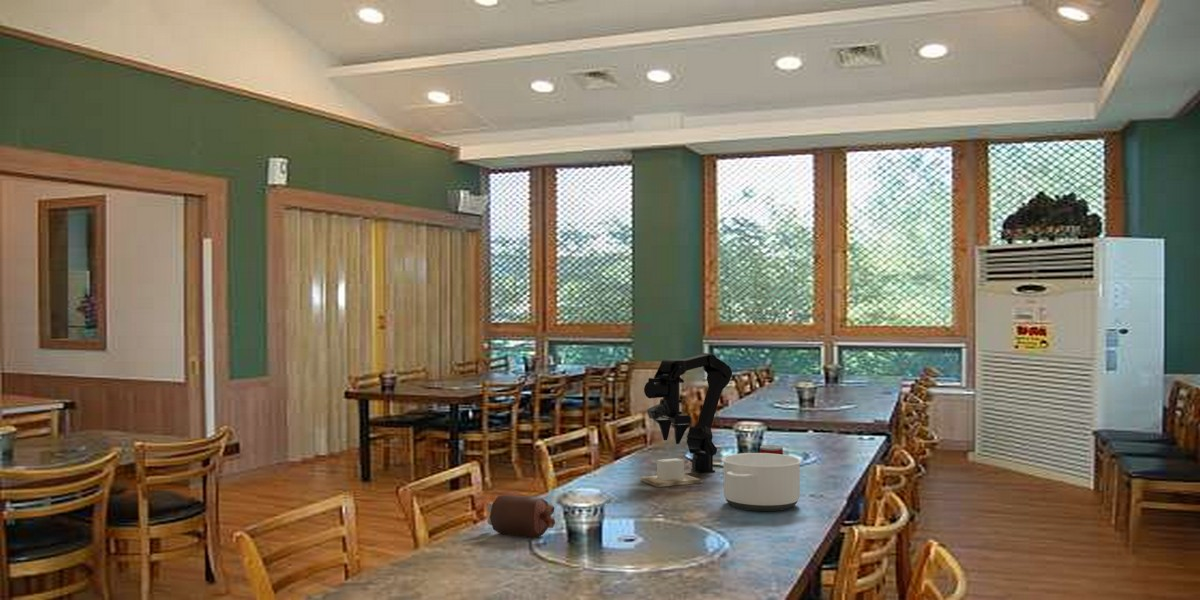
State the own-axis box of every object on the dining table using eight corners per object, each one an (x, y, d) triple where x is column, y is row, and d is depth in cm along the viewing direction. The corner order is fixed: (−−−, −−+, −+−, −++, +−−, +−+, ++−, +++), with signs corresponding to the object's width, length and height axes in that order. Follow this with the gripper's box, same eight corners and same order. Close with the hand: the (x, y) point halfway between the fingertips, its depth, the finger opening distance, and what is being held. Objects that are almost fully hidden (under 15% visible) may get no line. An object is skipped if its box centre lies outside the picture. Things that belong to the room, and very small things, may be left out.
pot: (772, 521, 257) (772, 471, 257) (698, 510, 271) (698, 463, 271) (821, 500, 284) (821, 455, 284) (752, 491, 298) (751, 448, 298)
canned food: (781, 477, 321) (781, 445, 321) (784, 481, 313) (783, 448, 313) (759, 477, 322) (758, 444, 322) (760, 481, 314) (760, 448, 314)
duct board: (683, 476, 323) (683, 461, 323) (700, 483, 311) (700, 467, 311) (641, 480, 316) (641, 465, 316) (656, 486, 305) (656, 470, 305)
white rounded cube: (677, 476, 318) (677, 458, 318) (683, 478, 313) (683, 460, 313) (657, 477, 315) (656, 459, 315) (663, 480, 310) (663, 462, 310)
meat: (475, 536, 243) (475, 497, 243) (500, 527, 253) (500, 489, 253) (542, 544, 234) (541, 503, 234) (565, 534, 244) (564, 494, 244)
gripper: (638, 395, 327) (638, 439, 327) (662, 400, 310) (662, 447, 310) (666, 393, 332) (667, 438, 332) (692, 398, 314) (692, 445, 314)
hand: (671, 442), depth 322 cm, fingers open, 9 cm apart
